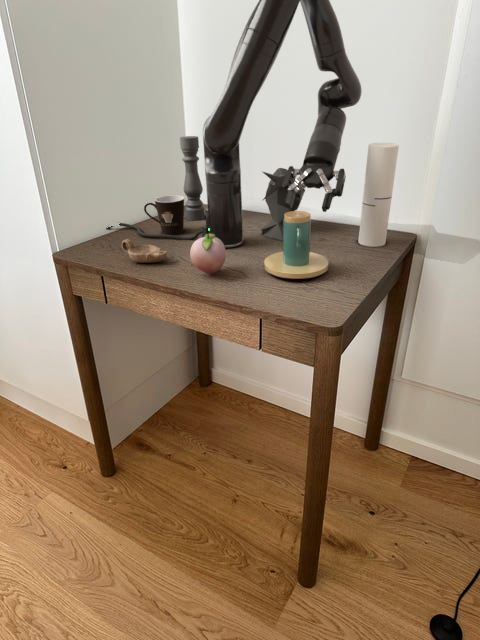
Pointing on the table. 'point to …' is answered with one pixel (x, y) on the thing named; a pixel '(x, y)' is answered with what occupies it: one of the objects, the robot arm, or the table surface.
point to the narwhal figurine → (278, 203)
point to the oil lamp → (143, 252)
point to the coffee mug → (169, 213)
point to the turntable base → (295, 279)
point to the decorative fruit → (208, 253)
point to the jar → (296, 250)
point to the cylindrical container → (377, 193)
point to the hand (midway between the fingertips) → (306, 208)
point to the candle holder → (192, 178)
